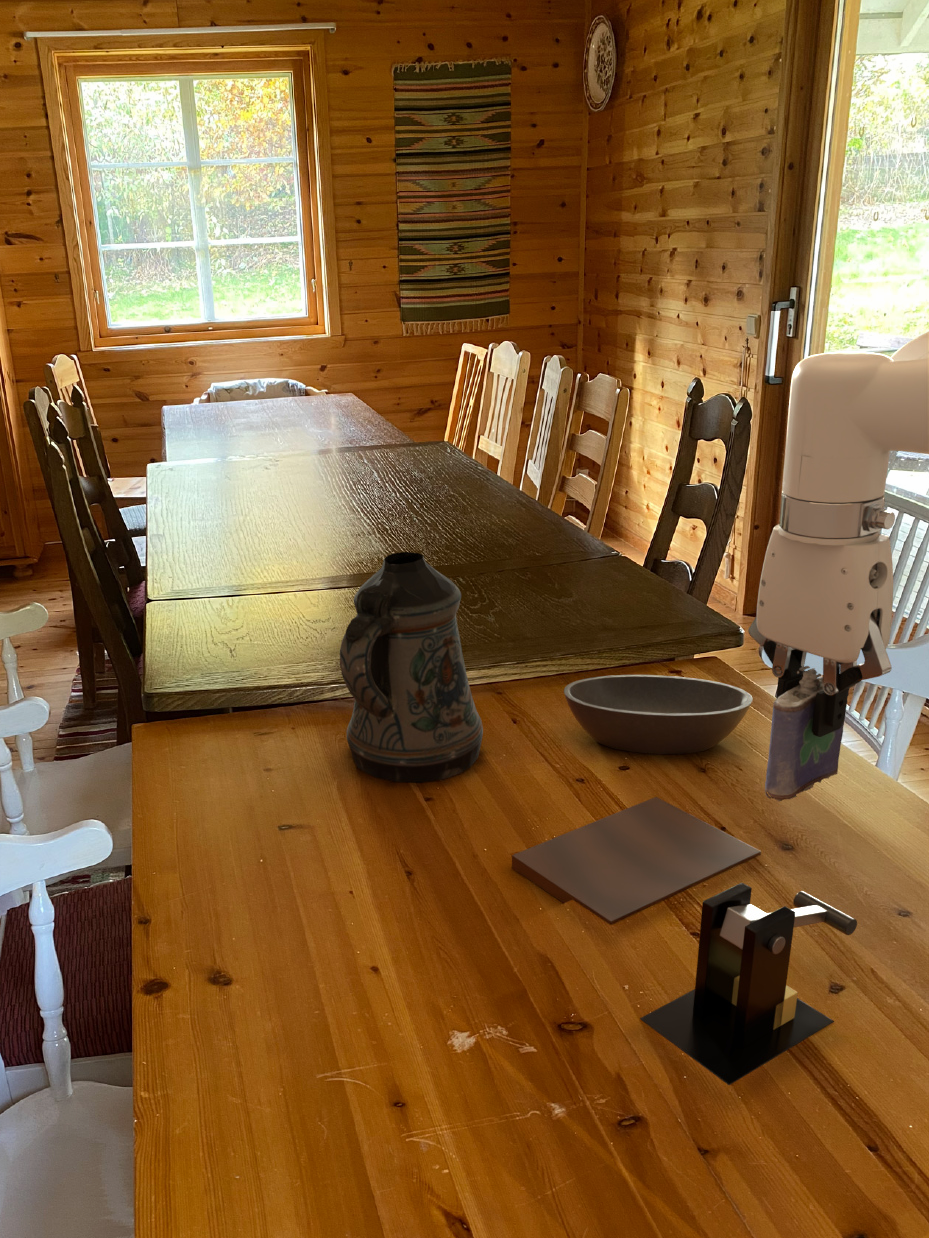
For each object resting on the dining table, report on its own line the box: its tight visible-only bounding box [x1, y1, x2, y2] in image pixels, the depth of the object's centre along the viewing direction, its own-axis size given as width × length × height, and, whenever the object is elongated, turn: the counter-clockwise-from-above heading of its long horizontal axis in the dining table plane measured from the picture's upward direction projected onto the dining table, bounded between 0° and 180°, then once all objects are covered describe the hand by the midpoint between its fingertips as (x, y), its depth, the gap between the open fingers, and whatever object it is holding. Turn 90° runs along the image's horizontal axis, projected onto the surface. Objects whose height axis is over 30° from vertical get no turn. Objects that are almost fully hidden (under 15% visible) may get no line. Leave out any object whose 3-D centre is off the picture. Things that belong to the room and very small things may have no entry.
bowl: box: [563, 674, 753, 755], centre depth 134 cm, size 12×22×6 cm, turn 78°
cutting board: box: [511, 796, 762, 926], centre depth 109 cm, size 20×14×2 cm
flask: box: [764, 665, 850, 803], centre depth 95 cm, size 9×3×11 cm, turn 126°
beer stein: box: [339, 551, 484, 784], centre depth 129 cm, size 16×19×25 cm
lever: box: [720, 890, 858, 949], centre depth 86 cm, size 12×5×2 cm, turn 123°
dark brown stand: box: [639, 882, 835, 1086], centre depth 85 cm, size 12×9×12 cm
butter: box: [732, 975, 799, 1030], centre depth 87 cm, size 3×5×2 cm, turn 32°
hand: (808, 722), depth 95 cm, fingers closed on flask, 3 cm apart
